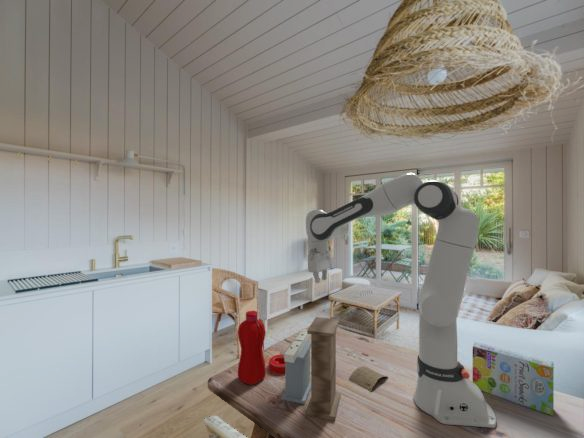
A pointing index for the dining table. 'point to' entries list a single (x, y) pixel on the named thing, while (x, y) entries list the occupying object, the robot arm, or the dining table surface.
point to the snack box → (514, 377)
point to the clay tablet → (365, 377)
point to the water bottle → (251, 349)
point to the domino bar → (296, 346)
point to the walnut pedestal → (323, 369)
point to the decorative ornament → (277, 364)
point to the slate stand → (298, 377)
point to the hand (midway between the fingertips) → (321, 281)
